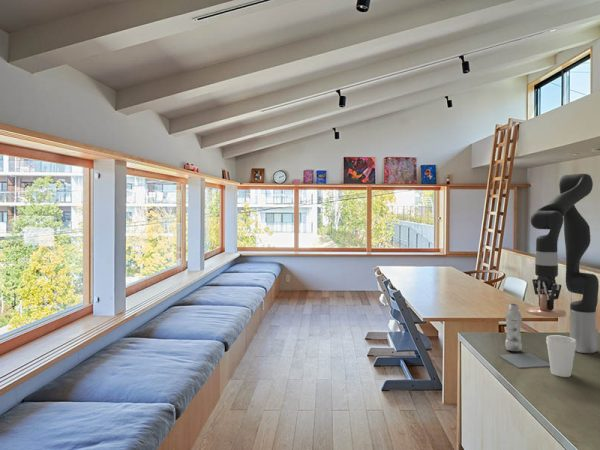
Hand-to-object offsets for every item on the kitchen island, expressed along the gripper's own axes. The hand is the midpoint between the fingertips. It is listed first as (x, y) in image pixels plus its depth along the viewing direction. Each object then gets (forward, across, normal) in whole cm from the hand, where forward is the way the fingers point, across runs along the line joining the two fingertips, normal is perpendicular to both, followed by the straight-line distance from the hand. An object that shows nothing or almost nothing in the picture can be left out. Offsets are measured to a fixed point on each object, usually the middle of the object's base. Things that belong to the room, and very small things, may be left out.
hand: (546, 308), depth 164 cm
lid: (+2, 0, 0) cm, 2 cm away
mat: (+23, +9, +3) cm, 25 cm away
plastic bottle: (+24, +21, 0) cm, 31 cm away
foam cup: (+24, -5, -2) cm, 24 cm away
